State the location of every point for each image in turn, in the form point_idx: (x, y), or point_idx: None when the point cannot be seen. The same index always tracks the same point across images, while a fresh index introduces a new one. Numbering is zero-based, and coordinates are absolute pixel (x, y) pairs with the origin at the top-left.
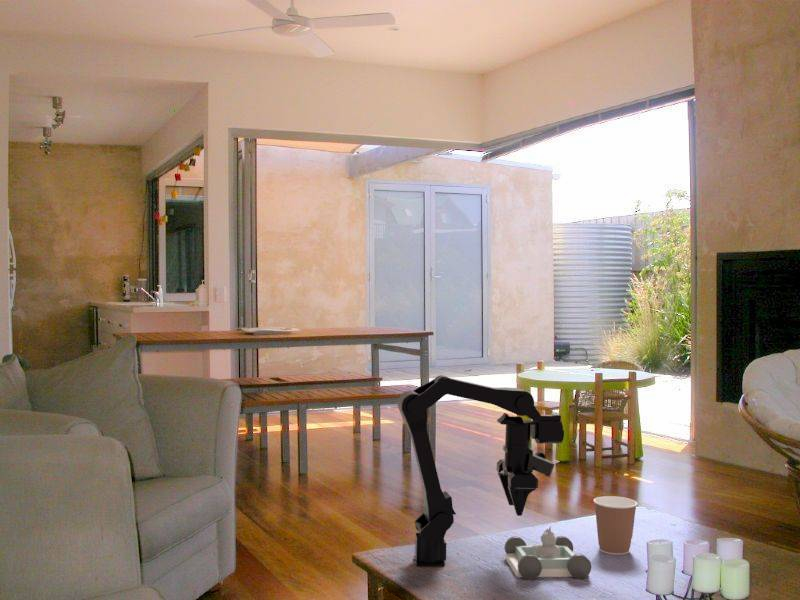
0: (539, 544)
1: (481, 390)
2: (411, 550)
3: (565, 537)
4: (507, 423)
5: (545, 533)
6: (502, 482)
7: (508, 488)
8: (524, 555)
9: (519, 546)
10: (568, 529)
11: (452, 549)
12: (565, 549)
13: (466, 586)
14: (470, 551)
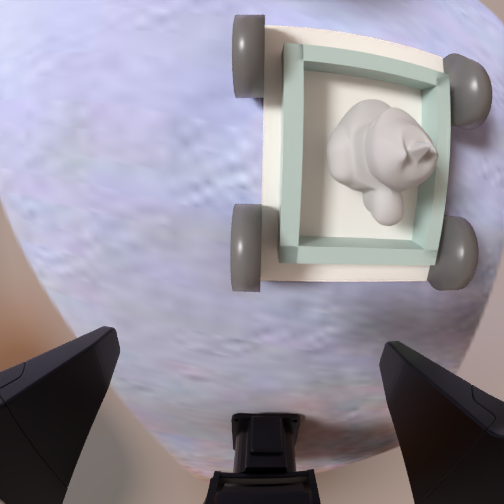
0: (346, 178)
1: None
2: (184, 441)
3: (251, 28)
4: None
5: (418, 174)
6: (63, 492)
7: (66, 436)
8: (396, 257)
9: (288, 248)
10: (2, 38)
11: (164, 381)
12: (339, 64)
13: None
14: (176, 348)
